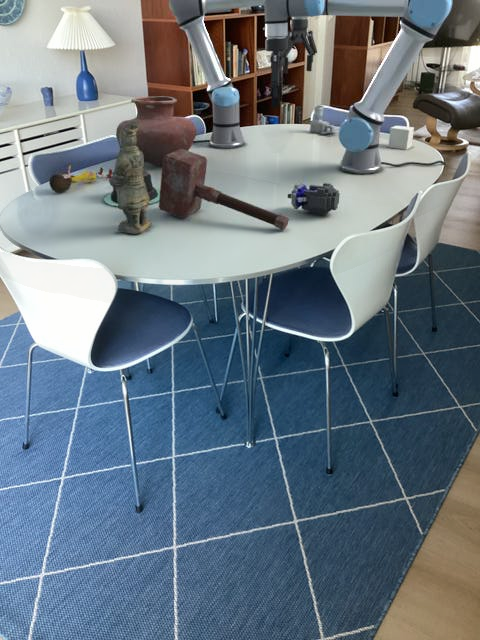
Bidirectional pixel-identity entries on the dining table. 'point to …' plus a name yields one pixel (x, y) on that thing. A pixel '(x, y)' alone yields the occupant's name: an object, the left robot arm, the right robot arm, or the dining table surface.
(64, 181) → the figurine
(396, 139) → the brick
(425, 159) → the dining table surface
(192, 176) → the sledgehammer
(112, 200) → the chocolate cake
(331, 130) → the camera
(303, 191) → the toy
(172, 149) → the clay pot
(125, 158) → the statue
